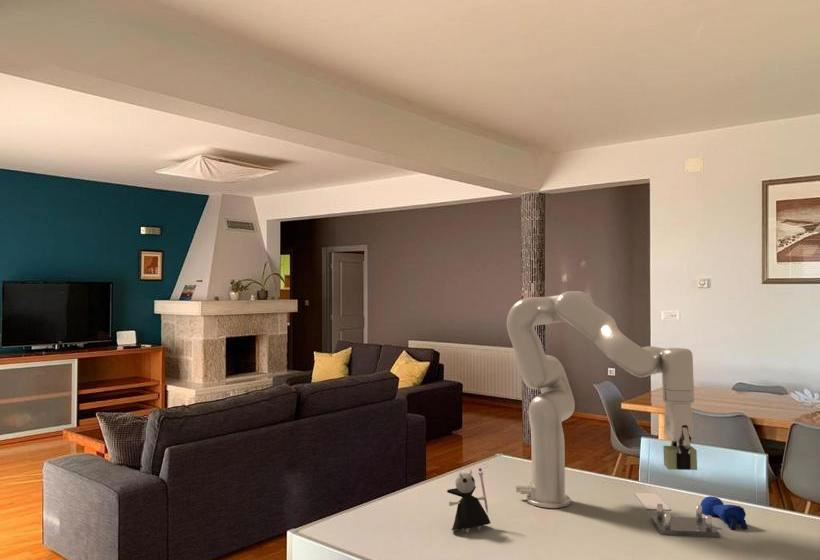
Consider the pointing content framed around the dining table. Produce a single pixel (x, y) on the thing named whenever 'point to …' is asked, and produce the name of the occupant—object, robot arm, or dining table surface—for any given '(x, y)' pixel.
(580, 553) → the dining table surface
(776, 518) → the dining table surface
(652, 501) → the smartphone
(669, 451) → the block
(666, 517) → the chassis
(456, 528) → the toy
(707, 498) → the toy
